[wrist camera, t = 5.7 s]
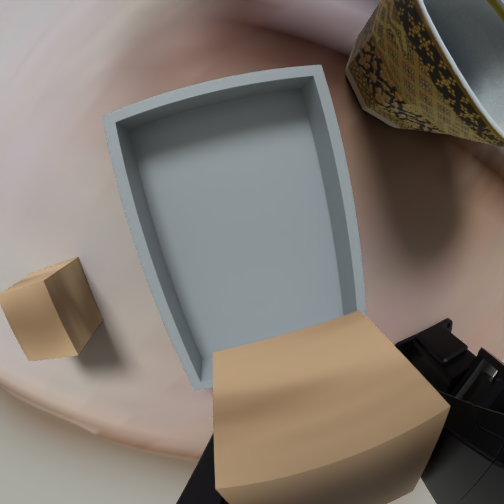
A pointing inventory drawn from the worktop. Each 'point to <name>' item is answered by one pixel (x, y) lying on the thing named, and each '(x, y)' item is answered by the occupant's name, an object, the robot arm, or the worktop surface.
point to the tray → (239, 209)
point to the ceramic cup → (433, 67)
